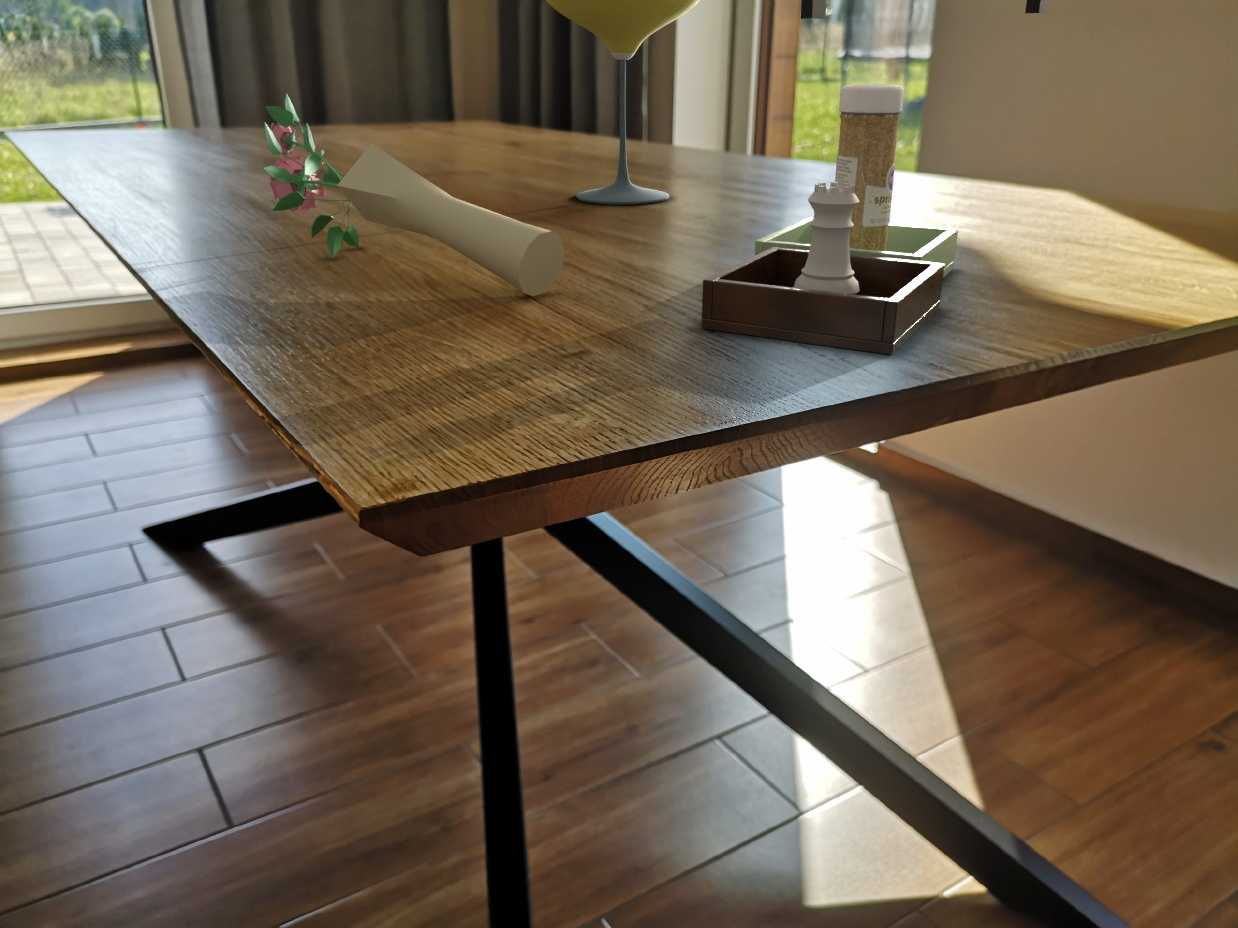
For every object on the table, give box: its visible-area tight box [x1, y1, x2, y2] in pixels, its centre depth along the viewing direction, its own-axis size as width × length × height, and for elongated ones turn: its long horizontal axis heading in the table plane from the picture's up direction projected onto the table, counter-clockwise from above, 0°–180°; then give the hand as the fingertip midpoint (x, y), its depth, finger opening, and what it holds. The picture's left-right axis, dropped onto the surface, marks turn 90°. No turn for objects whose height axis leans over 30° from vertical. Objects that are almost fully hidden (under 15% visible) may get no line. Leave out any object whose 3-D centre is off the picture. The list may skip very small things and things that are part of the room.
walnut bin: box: [701, 247, 945, 356], centre depth 68 cm, size 12×12×3 cm
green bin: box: [754, 216, 959, 278], centre depth 80 cm, size 12×12×3 cm
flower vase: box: [262, 93, 566, 297], centre depth 84 cm, size 12×12×35 cm
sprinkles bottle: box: [834, 83, 905, 251], centre depth 78 cm, size 5×5×14 cm
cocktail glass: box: [545, 0, 701, 206], centre depth 115 cm, size 18×18×25 cm
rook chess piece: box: [794, 181, 859, 295], centre depth 67 cm, size 4×4×8 cm
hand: (918, 17), depth 64 cm, fingers open, 13 cm apart
